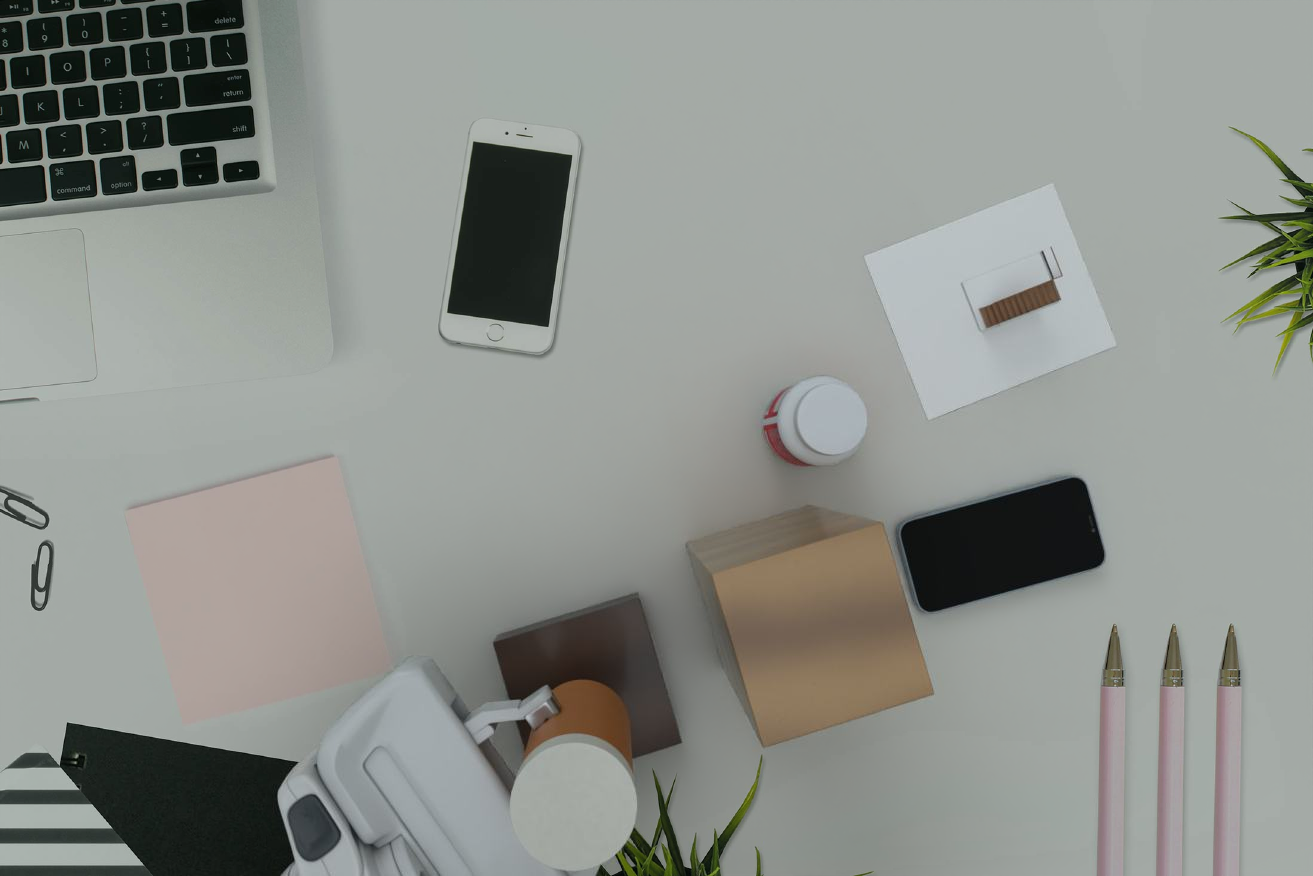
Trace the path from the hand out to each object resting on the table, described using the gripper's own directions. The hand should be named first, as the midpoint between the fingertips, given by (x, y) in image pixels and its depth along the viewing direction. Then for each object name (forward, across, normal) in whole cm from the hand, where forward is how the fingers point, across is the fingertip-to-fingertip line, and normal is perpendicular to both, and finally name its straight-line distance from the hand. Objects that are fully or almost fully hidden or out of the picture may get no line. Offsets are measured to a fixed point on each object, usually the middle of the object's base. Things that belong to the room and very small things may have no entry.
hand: (591, 750), depth 54 cm
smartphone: (+31, -9, +18) cm, 37 cm away
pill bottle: (+23, +7, +19) cm, 31 cm away
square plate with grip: (+41, +6, +19) cm, 46 cm away
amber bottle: (-1, 0, +6) cm, 7 cm away
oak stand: (+14, -2, +19) cm, 24 cm away
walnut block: (-1, 0, +19) cm, 19 cm away
